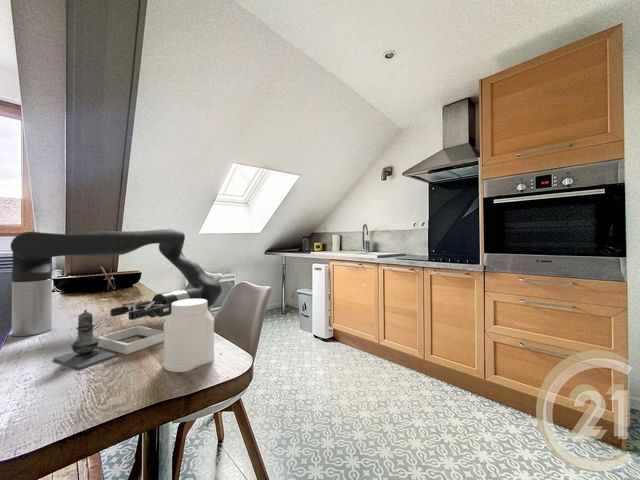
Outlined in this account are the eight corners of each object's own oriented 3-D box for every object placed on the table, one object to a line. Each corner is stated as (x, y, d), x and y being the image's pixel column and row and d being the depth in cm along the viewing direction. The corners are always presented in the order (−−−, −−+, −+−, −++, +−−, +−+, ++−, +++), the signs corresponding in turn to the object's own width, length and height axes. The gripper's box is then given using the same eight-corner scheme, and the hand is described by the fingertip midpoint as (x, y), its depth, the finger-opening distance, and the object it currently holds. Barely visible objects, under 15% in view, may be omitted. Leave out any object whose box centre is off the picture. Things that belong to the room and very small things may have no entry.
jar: (176, 376, 62) (176, 309, 62) (156, 364, 68) (156, 303, 68) (221, 358, 72) (221, 300, 72) (200, 349, 77) (200, 296, 77)
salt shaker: (83, 361, 68) (83, 312, 68) (63, 359, 69) (63, 311, 69) (105, 352, 74) (105, 307, 74) (87, 350, 75) (87, 306, 75)
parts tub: (96, 346, 80) (96, 337, 80) (138, 333, 91) (138, 325, 91) (126, 354, 74) (126, 345, 74) (167, 339, 85) (167, 331, 85)
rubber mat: (53, 360, 70) (53, 357, 70) (90, 349, 78) (90, 346, 78) (79, 369, 65) (79, 367, 65) (116, 356, 73) (116, 354, 73)
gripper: (157, 290, 97) (105, 299, 82) (186, 293, 91) (135, 303, 76) (157, 311, 97) (105, 324, 82) (186, 316, 91) (135, 331, 76)
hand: (120, 314), depth 79 cm, fingers open, 8 cm apart
